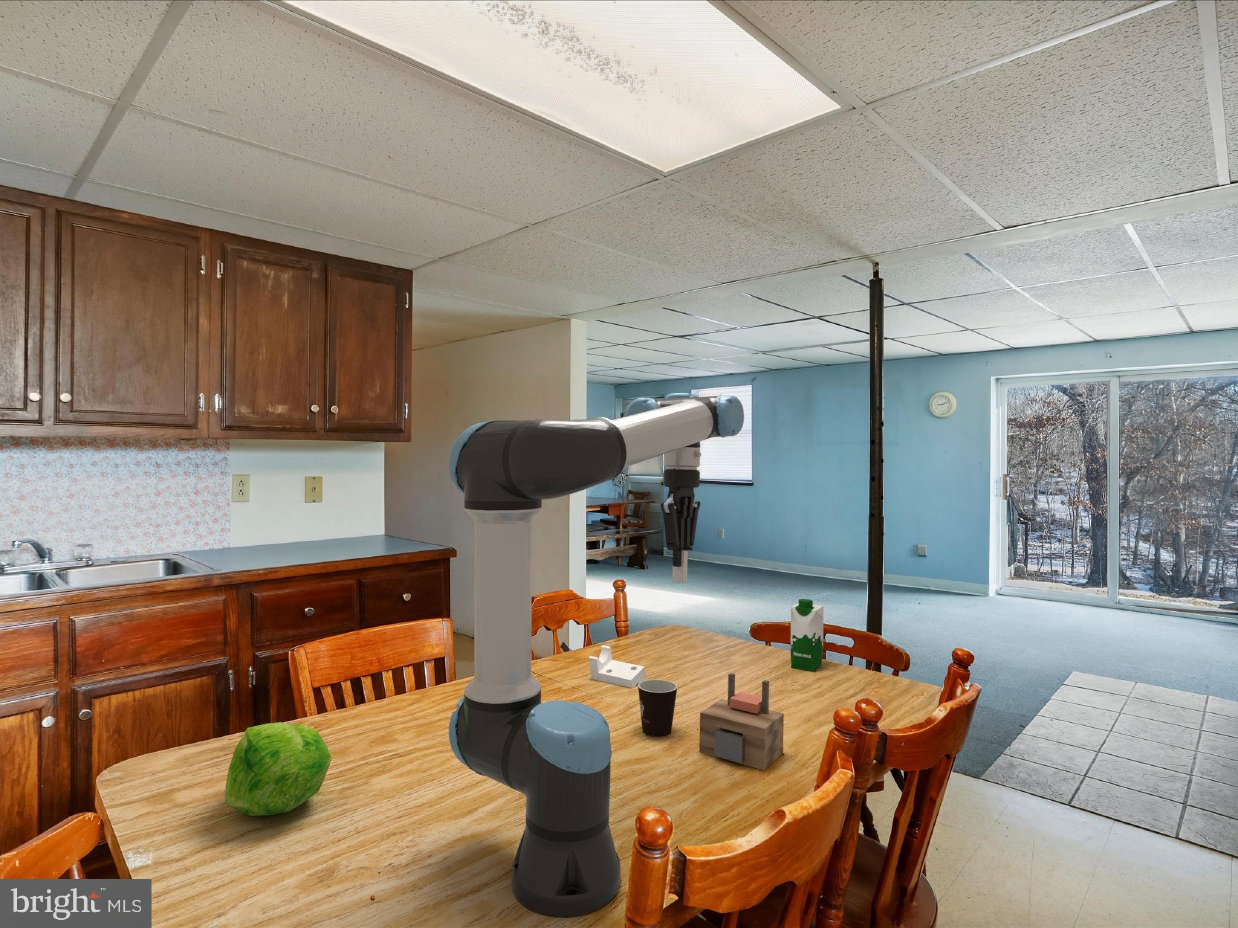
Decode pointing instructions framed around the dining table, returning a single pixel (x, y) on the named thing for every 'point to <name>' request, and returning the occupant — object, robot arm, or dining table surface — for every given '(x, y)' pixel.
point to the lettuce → (276, 768)
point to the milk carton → (806, 635)
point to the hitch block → (745, 728)
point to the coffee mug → (657, 706)
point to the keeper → (746, 702)
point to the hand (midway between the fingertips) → (679, 581)
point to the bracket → (615, 670)
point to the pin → (729, 745)
